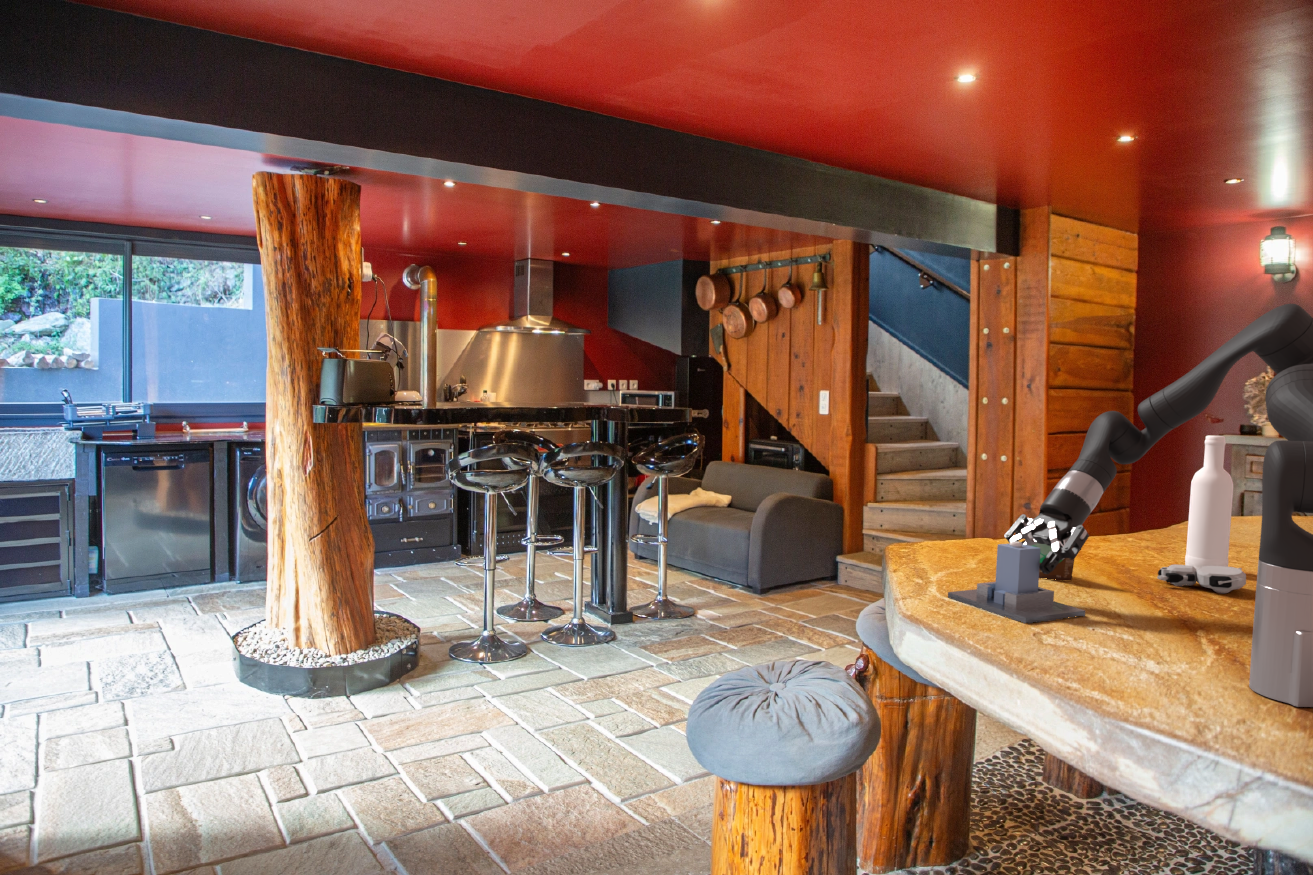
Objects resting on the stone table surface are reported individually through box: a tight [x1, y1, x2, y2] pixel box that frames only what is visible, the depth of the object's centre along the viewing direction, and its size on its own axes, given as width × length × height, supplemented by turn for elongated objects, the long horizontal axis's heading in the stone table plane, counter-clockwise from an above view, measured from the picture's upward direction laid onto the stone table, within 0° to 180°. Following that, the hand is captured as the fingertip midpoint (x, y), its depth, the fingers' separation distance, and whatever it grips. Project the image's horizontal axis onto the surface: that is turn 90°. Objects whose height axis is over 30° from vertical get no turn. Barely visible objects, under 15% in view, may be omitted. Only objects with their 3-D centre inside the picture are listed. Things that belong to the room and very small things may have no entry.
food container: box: [1028, 532, 1076, 581], centre depth 178 cm, size 12×6×10 cm, turn 25°
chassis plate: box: [947, 581, 1086, 624], centre depth 152 cm, size 18×14×4 cm
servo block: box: [994, 541, 1041, 605], centre depth 152 cm, size 5×7×11 cm
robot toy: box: [1157, 564, 1247, 594], centre depth 172 cm, size 12×4×15 cm
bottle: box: [1184, 435, 1235, 570], centre depth 187 cm, size 8×8×30 cm
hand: (1023, 566), depth 153 cm, fingers open, 8 cm apart
